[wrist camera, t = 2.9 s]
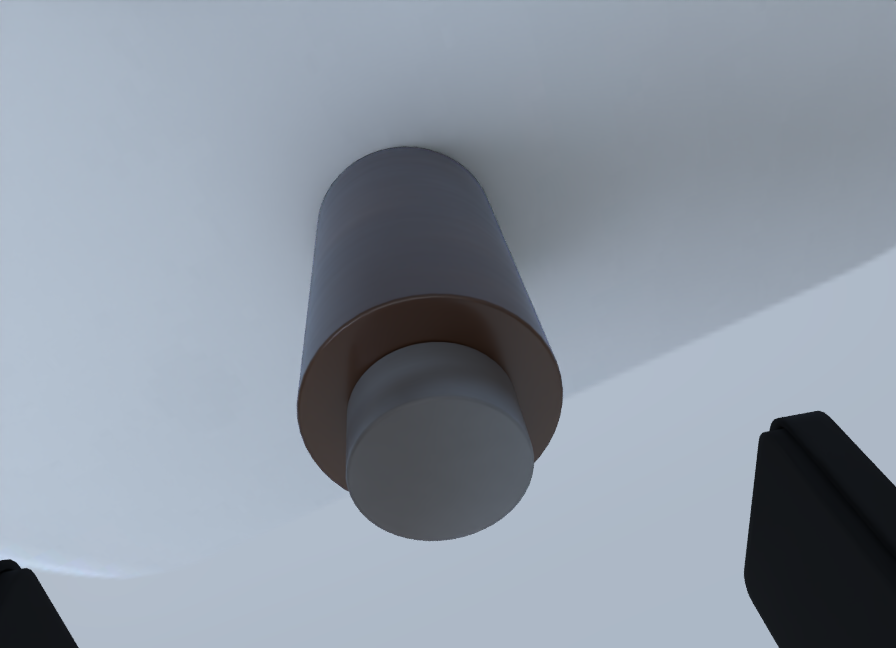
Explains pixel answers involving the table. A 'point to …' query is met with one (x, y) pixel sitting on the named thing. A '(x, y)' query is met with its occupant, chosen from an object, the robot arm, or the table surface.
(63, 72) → the table surface
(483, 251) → the pepper mill
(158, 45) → the table surface
